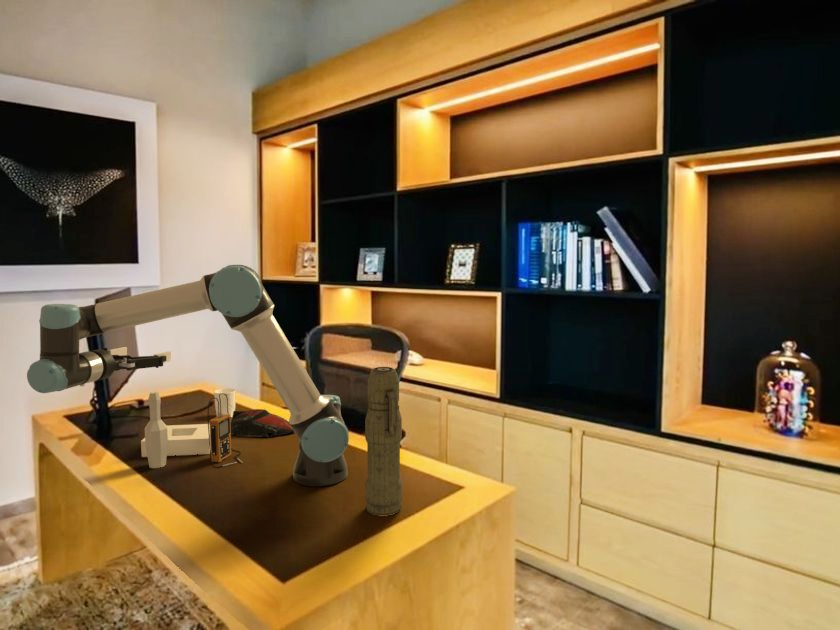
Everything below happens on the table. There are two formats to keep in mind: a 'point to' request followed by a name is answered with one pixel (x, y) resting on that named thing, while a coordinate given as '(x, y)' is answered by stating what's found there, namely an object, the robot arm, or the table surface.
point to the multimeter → (220, 436)
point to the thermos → (383, 442)
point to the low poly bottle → (156, 434)
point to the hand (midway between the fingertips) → (147, 353)
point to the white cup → (225, 401)
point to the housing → (185, 440)
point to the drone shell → (258, 423)
